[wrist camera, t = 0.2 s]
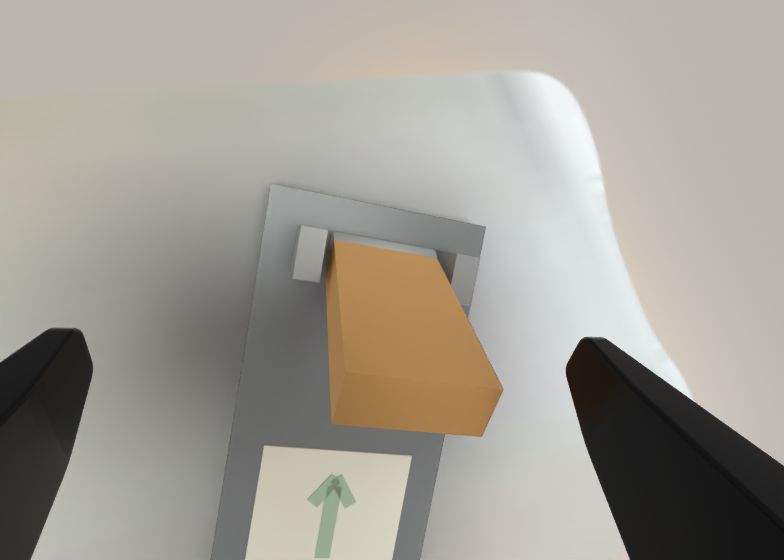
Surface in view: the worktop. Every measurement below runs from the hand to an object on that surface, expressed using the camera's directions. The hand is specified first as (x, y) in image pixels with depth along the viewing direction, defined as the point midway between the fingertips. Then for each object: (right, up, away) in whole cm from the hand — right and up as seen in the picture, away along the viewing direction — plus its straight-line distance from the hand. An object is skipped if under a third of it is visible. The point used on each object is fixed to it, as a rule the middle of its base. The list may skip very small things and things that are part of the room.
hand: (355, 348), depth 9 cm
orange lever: (0, +2, +12) cm, 12 cm away
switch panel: (-2, -5, +15) cm, 16 cm away
